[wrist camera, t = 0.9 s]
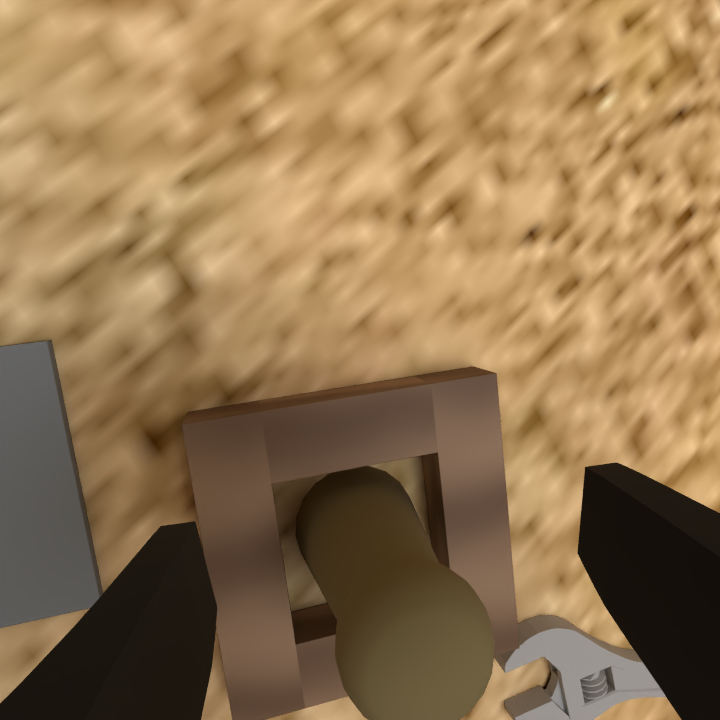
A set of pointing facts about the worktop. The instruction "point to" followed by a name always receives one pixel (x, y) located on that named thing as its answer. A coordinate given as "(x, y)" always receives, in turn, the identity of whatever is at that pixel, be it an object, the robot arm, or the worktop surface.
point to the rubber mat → (40, 495)
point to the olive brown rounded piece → (393, 602)
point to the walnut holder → (326, 455)
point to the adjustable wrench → (574, 672)
